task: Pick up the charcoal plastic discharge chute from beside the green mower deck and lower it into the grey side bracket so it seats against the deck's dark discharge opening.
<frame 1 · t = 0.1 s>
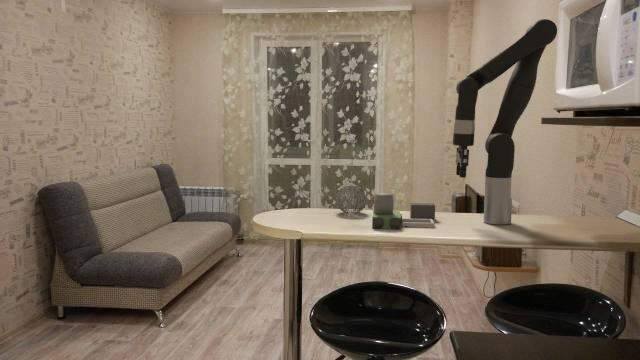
hand: (460, 176, 198), 17 cm above the breakfast bar, tool pointing down, fingers open, 8 cm apart
pendant light: (351, 213, 219), on the breakfast bar
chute: (422, 219, 206), on the breakfast bar
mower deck: (399, 224, 195), on the breakfast bar
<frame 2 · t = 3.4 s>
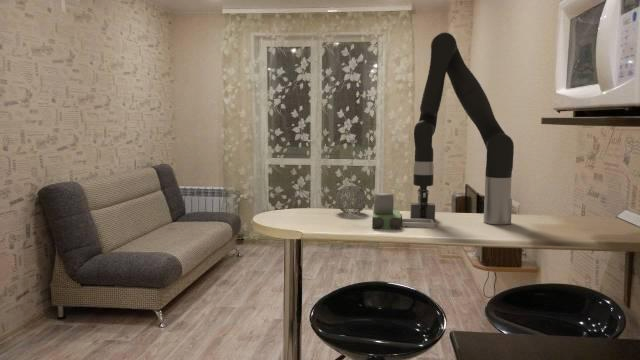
hand: (422, 216, 206), 1 cm above the breakfast bar, tool pointing down, fingers closed on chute, 5 cm apart
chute: (422, 219, 206), on the breakfast bar, touching gripper
everything else where it was.
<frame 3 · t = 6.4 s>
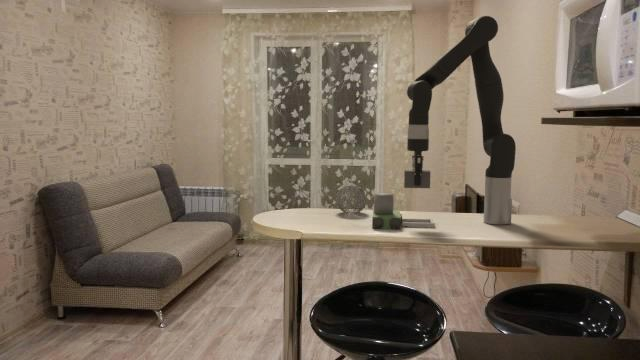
hand: (417, 184, 193), 15 cm above the breakfast bar, tool pointing down, fingers closed on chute, 5 cm apart
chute: (416, 187, 193), point 14 cm above the breakfast bar, touching gripper
everything else where it was.
when the fingers open (3 cm above the breakfast bar, at t = 9.4 s): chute drops 2 cm, resting in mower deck.
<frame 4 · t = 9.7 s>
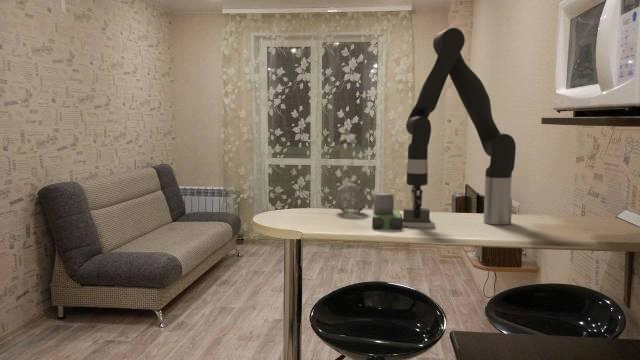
hand: (416, 216, 194), 3 cm above the breakfast bar, tool pointing down, fingers open, 8 cm apart
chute: (415, 225, 194), resting in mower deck
everything else where it was.
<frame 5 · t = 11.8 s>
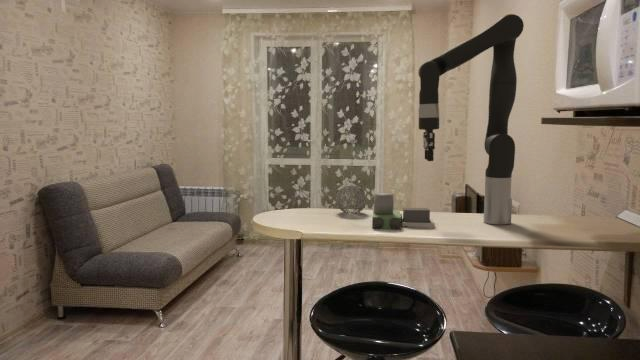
hand: (429, 160, 199), 23 cm above the breakfast bar, tool pointing down, fingers open, 8 cm apart
nothing on the breakfast bar moved.
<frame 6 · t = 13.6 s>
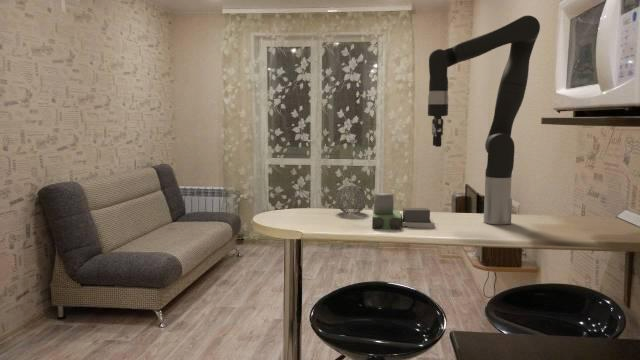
hand: (436, 146, 204), 28 cm above the breakfast bar, tool pointing down, fingers open, 8 cm apart
nothing on the breakfast bar moved.
at the end: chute 0.0 cm from the target spot, resting in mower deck; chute tilted 0°; the gripper is holding nothing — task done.
